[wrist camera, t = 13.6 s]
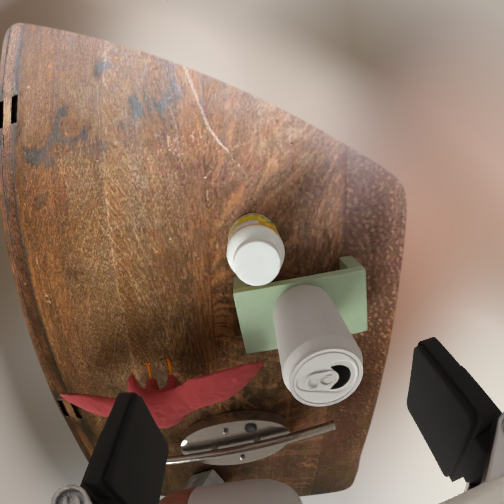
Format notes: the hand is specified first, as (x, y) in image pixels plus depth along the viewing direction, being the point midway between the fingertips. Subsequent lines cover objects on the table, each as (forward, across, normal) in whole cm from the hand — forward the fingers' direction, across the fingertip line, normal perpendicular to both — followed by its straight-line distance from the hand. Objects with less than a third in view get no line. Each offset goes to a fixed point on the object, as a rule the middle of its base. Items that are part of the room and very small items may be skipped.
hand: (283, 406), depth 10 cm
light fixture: (+27, +11, +32) cm, 44 cm away
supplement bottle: (+28, 0, +2) cm, 28 cm away
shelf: (+27, -4, +10) cm, 29 cm away
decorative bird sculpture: (+27, +16, +18) cm, 36 cm away
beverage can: (+22, -3, +9) cm, 24 cm away
